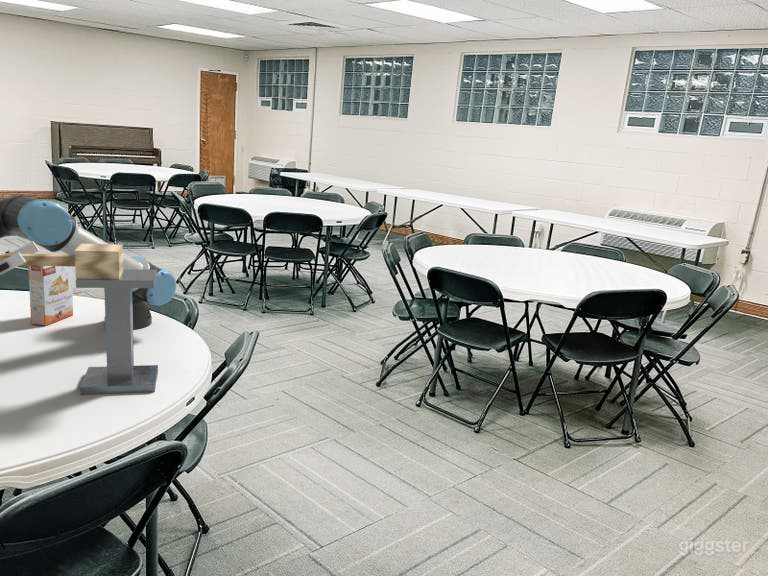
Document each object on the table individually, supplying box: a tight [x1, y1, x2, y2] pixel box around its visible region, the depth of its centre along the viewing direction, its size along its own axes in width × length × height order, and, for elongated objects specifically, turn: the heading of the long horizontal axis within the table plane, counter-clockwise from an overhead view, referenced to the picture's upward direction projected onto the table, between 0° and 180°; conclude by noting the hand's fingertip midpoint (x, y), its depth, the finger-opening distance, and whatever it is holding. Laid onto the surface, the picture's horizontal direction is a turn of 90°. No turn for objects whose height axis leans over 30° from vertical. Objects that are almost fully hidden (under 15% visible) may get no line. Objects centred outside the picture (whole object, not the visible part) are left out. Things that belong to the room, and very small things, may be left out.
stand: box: [75, 269, 159, 396], centre depth 166 cm, size 18×14×30 cm
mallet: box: [0, 243, 124, 279], centre depth 157 cm, size 28×9×7 cm, turn 106°
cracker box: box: [27, 266, 74, 327], centre depth 211 cm, size 14×6×21 cm, turn 168°
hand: (29, 251), depth 155 cm, fingers open, 13 cm apart
